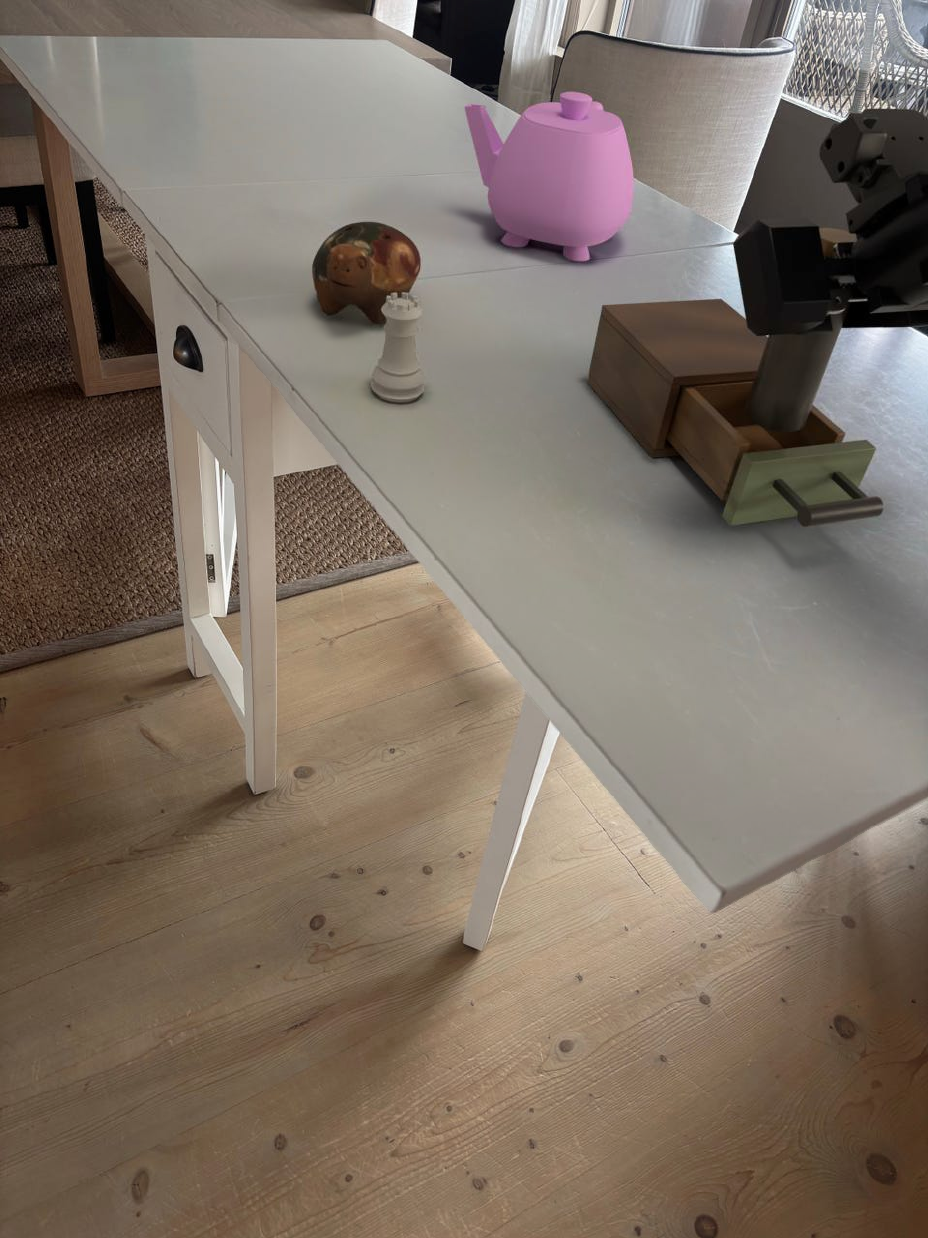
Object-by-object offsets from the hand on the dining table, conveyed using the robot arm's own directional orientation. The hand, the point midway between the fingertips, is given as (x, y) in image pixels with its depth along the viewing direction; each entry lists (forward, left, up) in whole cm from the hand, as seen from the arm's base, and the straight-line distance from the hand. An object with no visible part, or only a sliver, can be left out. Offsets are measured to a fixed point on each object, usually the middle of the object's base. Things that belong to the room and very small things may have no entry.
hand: (793, 322), depth 65 cm
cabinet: (+10, -3, -13) cm, 16 cm away
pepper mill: (-1, 0, -7) cm, 7 cm away
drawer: (-3, +1, -12) cm, 12 cm away
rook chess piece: (+23, +17, -13) cm, 32 cm away
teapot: (+48, -19, -13) cm, 53 cm away
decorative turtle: (+38, +11, -13) cm, 42 cm away
